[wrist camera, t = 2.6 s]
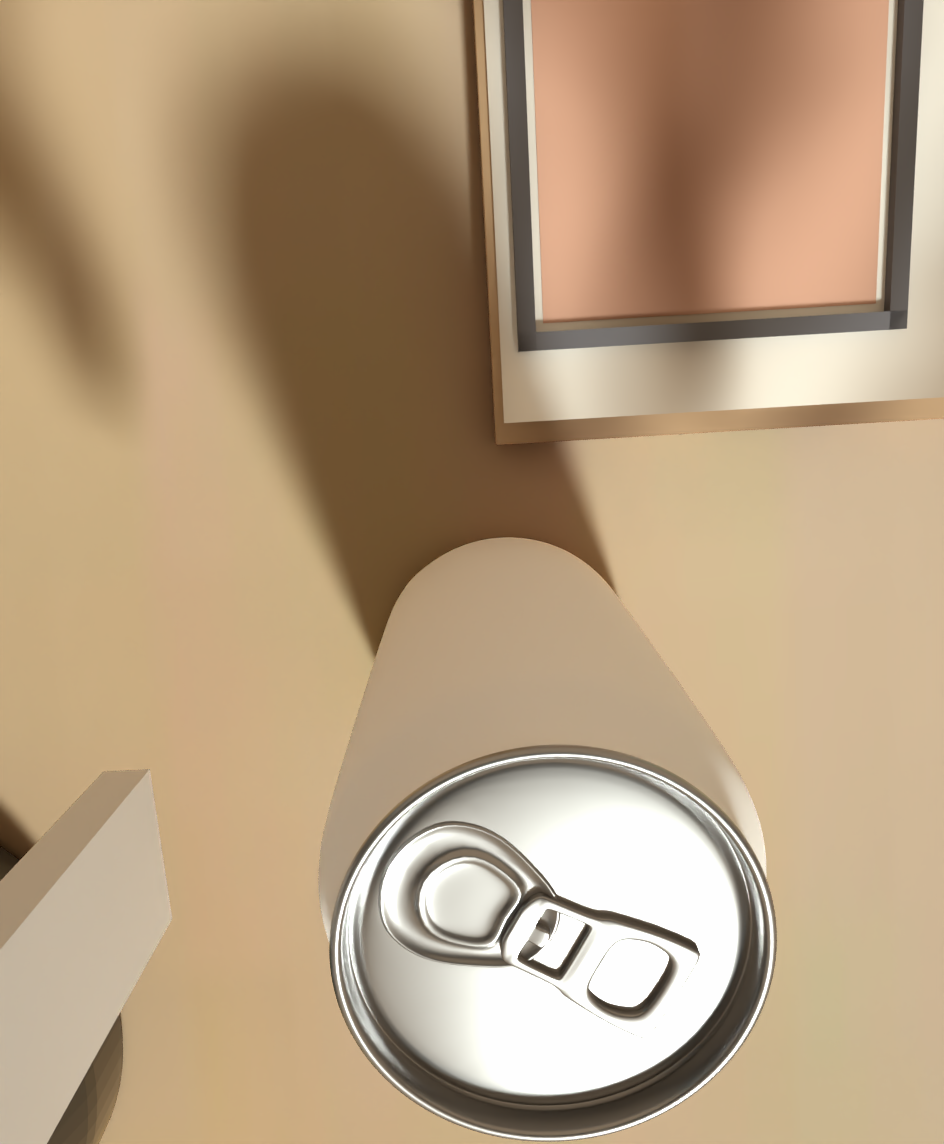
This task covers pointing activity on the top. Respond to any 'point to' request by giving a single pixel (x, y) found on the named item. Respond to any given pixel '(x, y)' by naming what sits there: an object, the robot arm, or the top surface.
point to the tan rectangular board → (711, 214)
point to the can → (539, 859)
